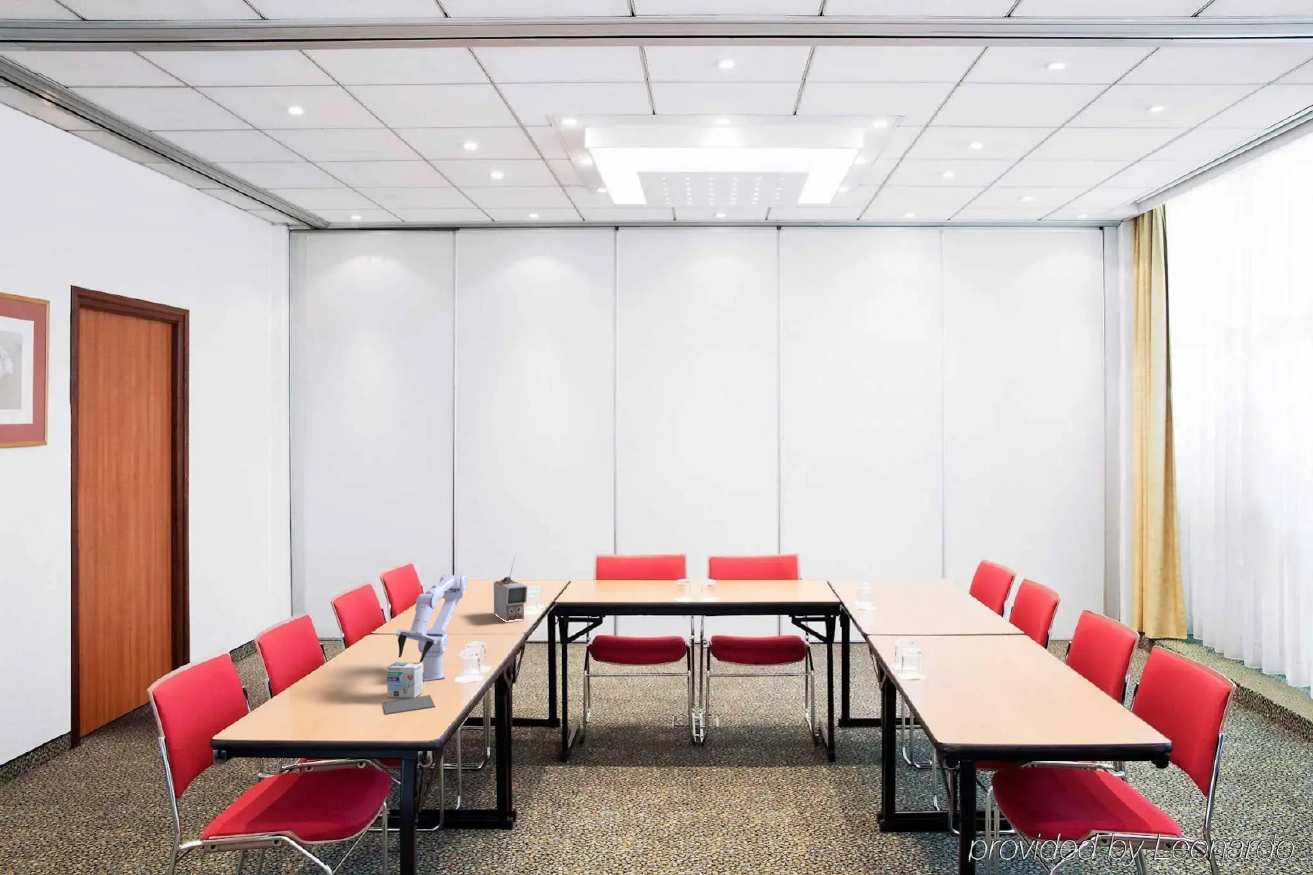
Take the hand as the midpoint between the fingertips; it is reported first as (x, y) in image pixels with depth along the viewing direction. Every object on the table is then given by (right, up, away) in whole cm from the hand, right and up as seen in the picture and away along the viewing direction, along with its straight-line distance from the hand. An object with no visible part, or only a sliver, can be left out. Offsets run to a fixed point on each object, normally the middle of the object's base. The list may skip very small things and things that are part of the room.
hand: (410, 659), depth 277 cm
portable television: (+16, -11, +110) cm, 112 cm away
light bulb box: (-1, -13, -2) cm, 13 cm away
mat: (+3, -13, -11) cm, 17 cm away
